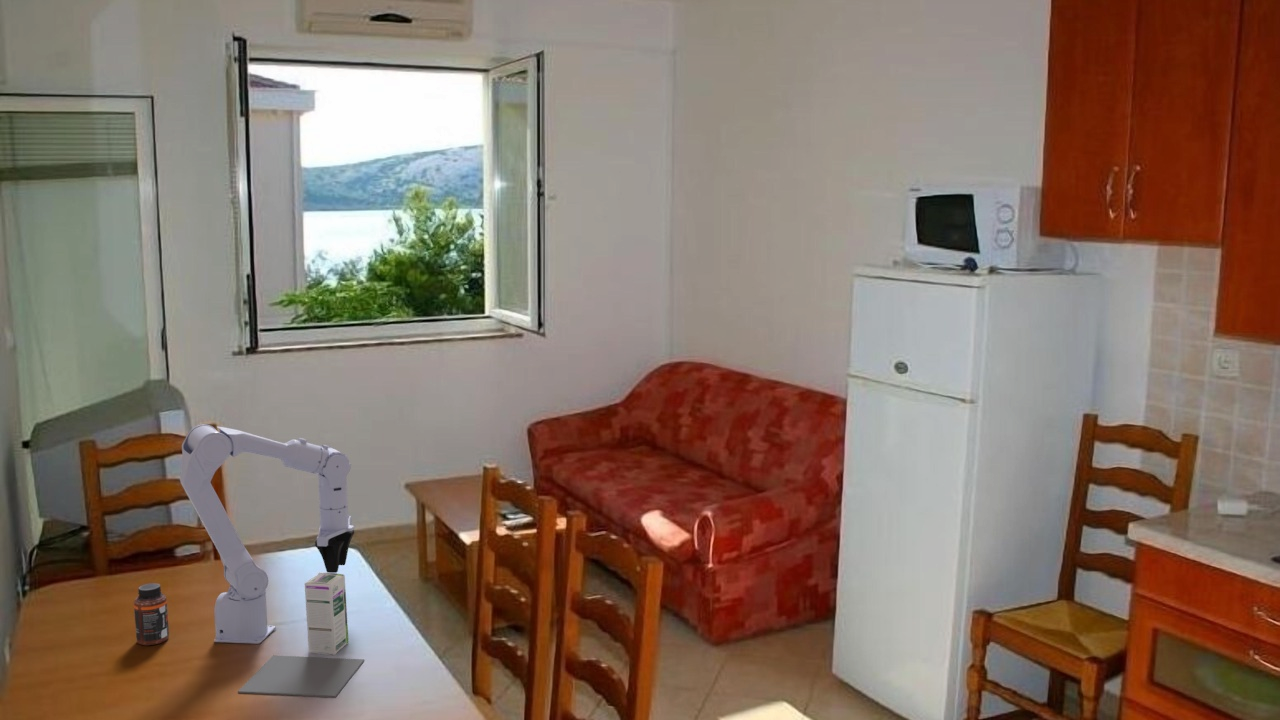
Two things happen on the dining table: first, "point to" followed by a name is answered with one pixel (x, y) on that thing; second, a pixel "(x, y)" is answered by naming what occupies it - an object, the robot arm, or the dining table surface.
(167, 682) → the dining table surface
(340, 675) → the charcoal mat
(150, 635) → the supplement bottle
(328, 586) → the syrup box
